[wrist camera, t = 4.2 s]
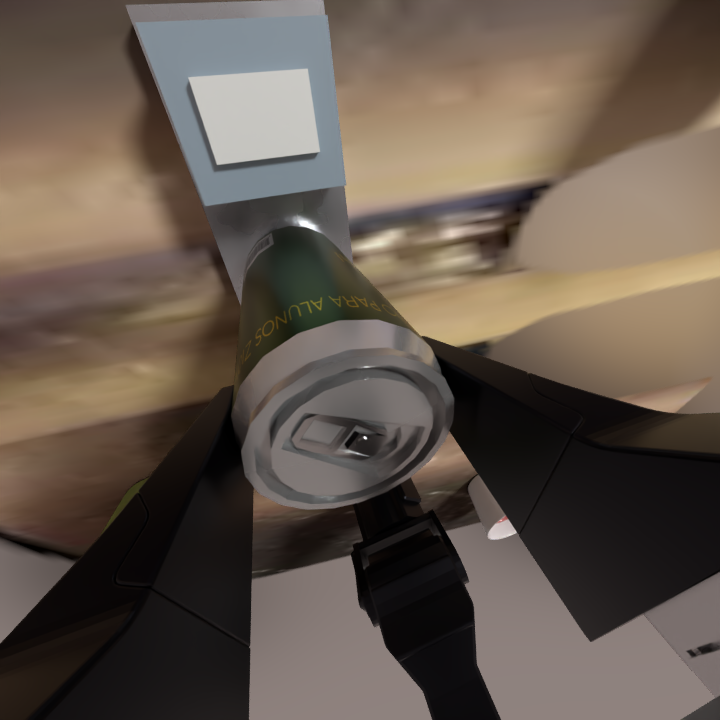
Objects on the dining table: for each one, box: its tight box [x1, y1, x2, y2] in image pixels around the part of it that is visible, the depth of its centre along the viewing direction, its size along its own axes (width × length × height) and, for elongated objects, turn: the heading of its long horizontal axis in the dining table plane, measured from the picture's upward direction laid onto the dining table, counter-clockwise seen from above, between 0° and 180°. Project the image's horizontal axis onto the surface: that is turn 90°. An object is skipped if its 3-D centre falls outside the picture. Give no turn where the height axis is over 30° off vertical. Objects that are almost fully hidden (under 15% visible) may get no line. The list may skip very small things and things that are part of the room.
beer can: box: [231, 226, 454, 509], centre depth 11 cm, size 5×5×12 cm
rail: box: [126, 0, 353, 305], centre depth 17 cm, size 20×7×1 cm, turn 6°
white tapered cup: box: [468, 475, 517, 540], centre depth 40 cm, size 9×9×6 cm
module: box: [136, 15, 346, 206], centre depth 12 cm, size 5×6×3 cm
